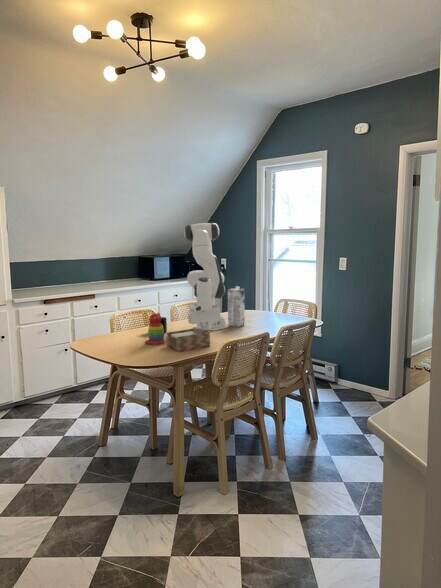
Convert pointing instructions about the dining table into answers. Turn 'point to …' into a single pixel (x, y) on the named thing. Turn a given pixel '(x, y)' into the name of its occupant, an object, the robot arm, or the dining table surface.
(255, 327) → the dining table surface
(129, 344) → the dining table surface
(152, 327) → the stacking bear
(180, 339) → the walnut box
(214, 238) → the robot arm
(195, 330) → the cover plate
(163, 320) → the black flat block
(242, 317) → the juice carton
